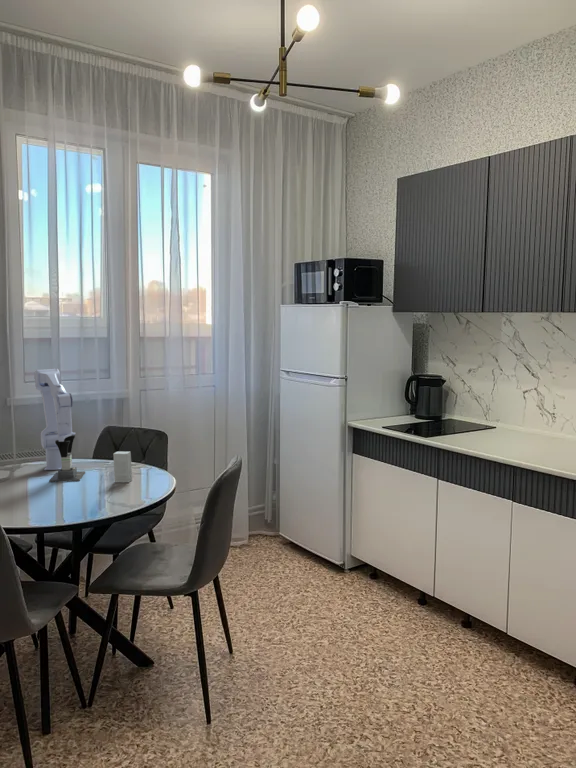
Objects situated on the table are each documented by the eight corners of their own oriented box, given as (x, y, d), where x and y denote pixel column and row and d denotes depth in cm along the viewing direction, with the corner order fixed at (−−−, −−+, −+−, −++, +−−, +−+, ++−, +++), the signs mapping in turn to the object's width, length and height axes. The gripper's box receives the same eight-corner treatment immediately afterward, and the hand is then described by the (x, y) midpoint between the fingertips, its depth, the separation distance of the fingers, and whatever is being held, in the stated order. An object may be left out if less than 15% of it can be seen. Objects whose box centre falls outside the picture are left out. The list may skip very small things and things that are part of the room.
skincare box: (132, 479, 254) (131, 451, 252) (128, 482, 249) (127, 453, 248) (118, 479, 254) (116, 451, 253) (114, 482, 250) (112, 453, 248)
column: (63, 470, 259) (63, 454, 258) (72, 470, 259) (71, 454, 258) (61, 472, 255) (61, 456, 255) (70, 472, 256) (69, 456, 255)
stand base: (56, 474, 263) (55, 465, 262) (85, 473, 264) (84, 464, 264) (49, 482, 251) (48, 472, 251) (79, 480, 253) (78, 471, 252)
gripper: (70, 425, 248) (72, 458, 250) (78, 419, 262) (79, 450, 264) (52, 426, 247) (54, 459, 249) (61, 419, 262) (62, 451, 263)
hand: (66, 454), depth 256 cm, fingers open, 7 cm apart
